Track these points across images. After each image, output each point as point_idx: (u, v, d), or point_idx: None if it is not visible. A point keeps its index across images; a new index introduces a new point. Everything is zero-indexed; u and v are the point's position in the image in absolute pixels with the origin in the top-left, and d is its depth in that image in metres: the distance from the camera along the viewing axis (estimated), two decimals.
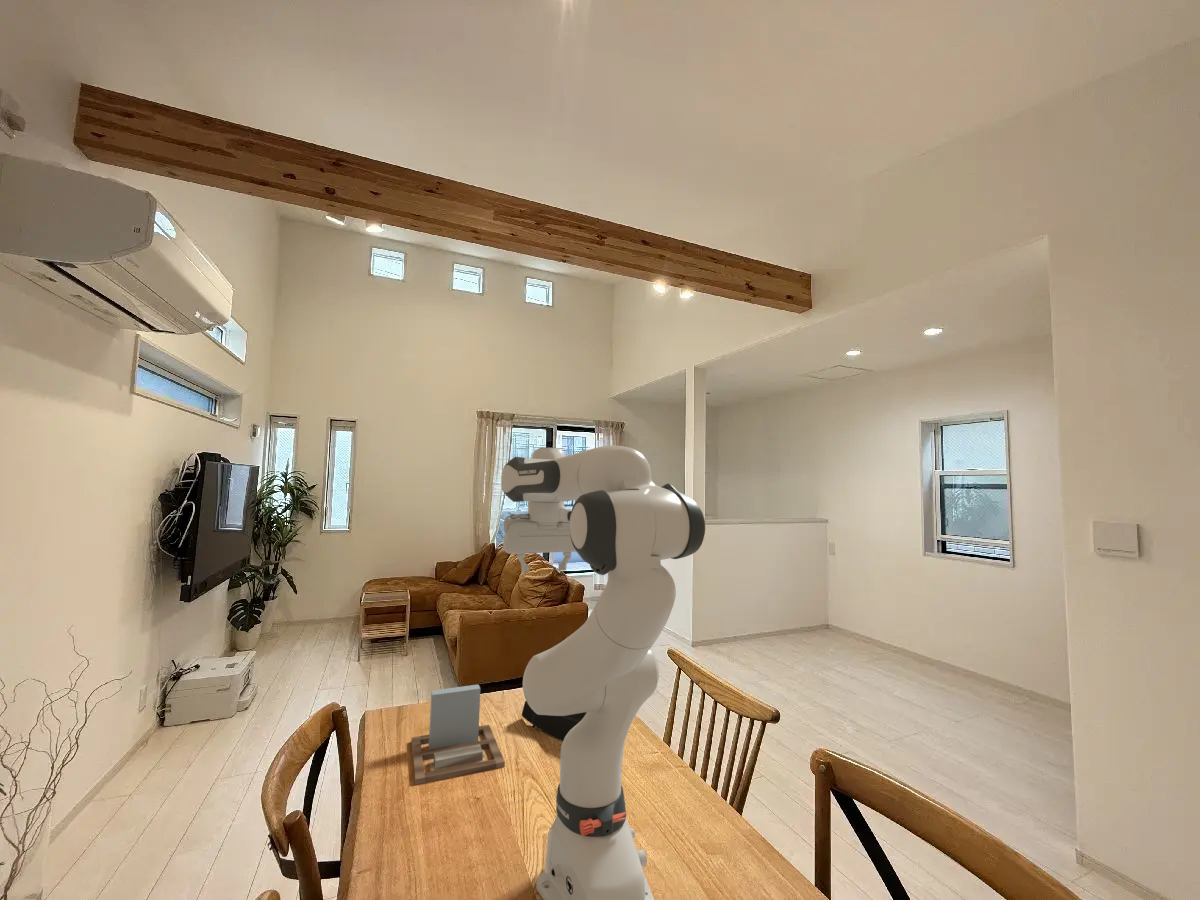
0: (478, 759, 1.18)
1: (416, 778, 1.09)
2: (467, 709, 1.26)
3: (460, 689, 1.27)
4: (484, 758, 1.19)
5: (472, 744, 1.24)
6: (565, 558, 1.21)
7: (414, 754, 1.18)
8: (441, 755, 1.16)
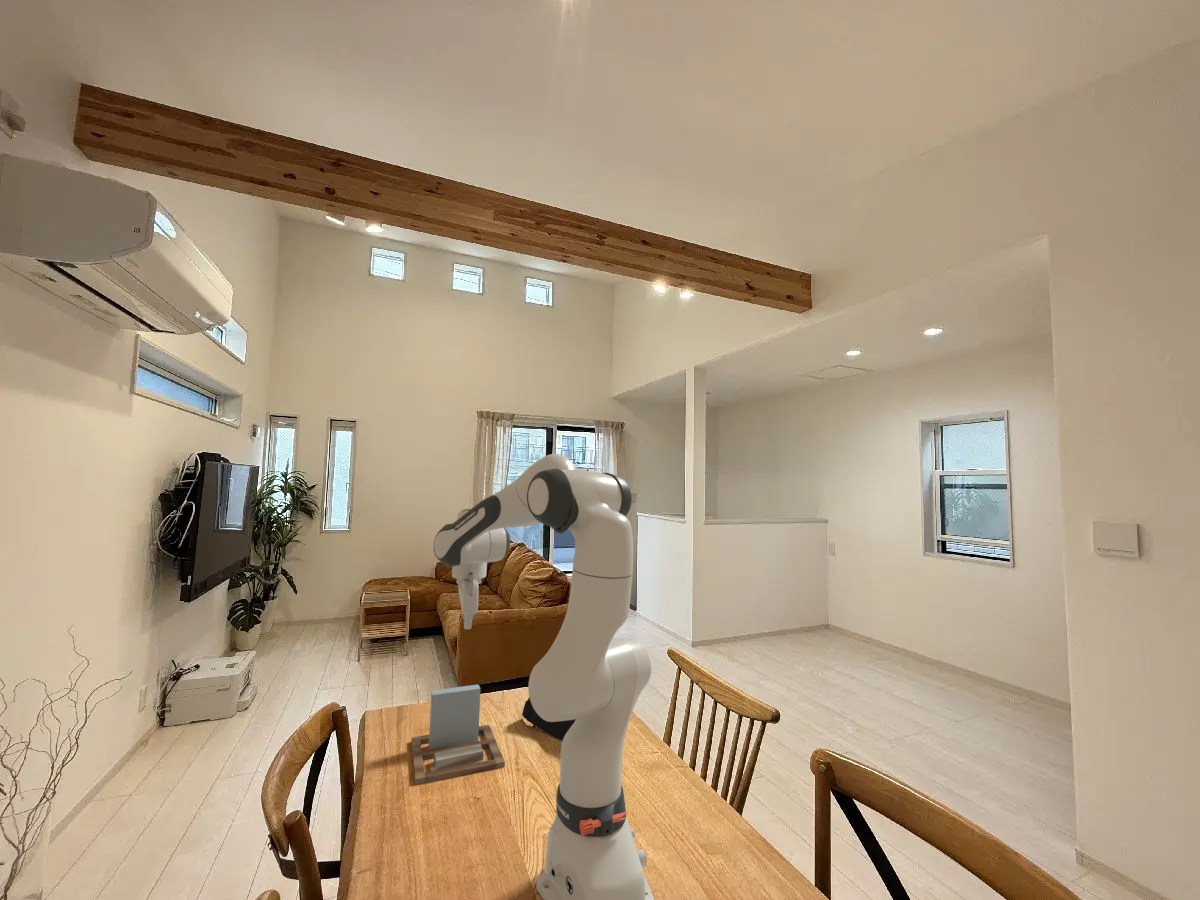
0: (479, 759, 1.18)
1: (416, 778, 1.09)
2: (467, 709, 1.26)
3: (460, 689, 1.27)
4: (484, 757, 1.19)
5: (472, 744, 1.24)
6: None
7: (414, 754, 1.18)
8: (442, 755, 1.16)
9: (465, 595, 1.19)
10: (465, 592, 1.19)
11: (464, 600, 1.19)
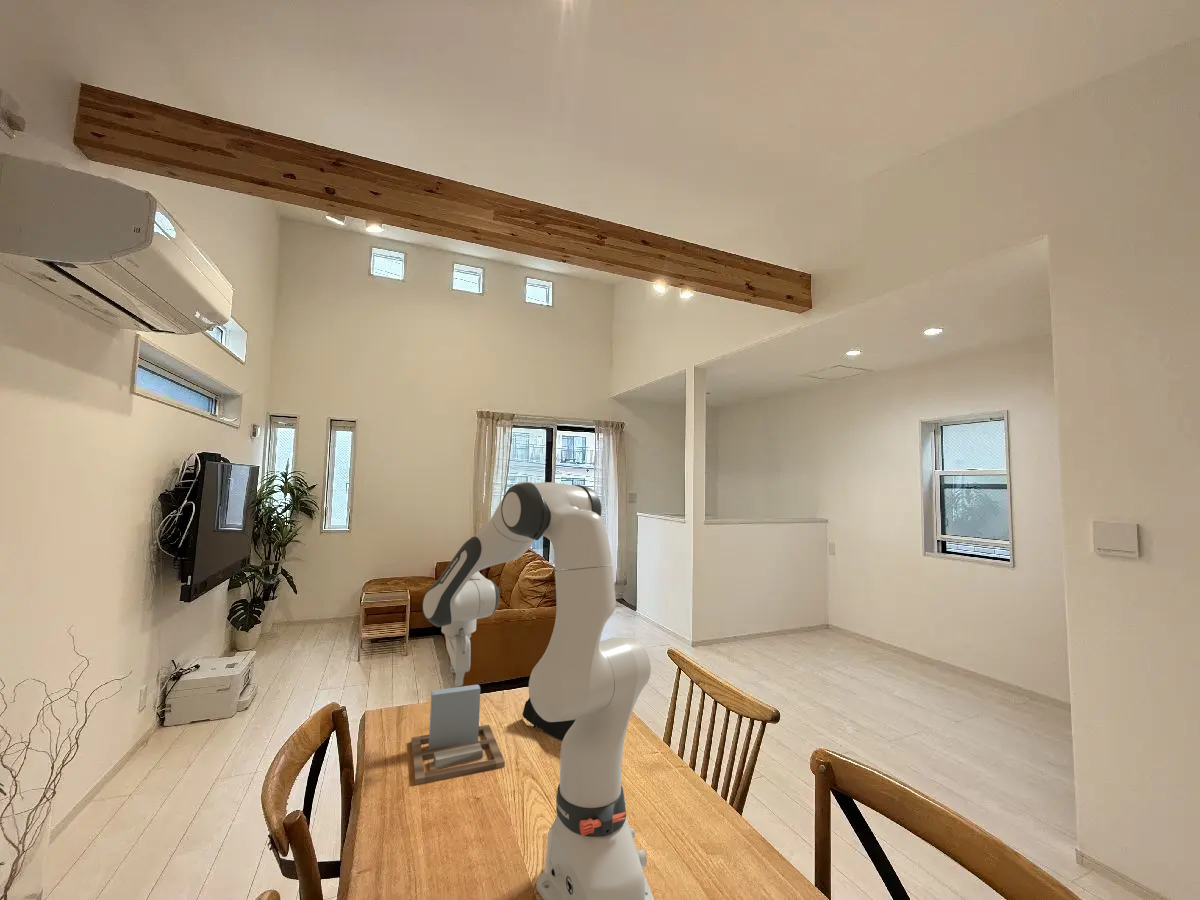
0: (478, 758, 1.19)
1: (416, 778, 1.09)
2: (467, 709, 1.26)
3: (460, 689, 1.27)
4: (484, 757, 1.20)
5: (472, 744, 1.24)
6: None
7: (414, 754, 1.18)
8: (441, 754, 1.17)
9: (457, 653, 1.19)
10: (457, 650, 1.19)
11: (456, 658, 1.18)
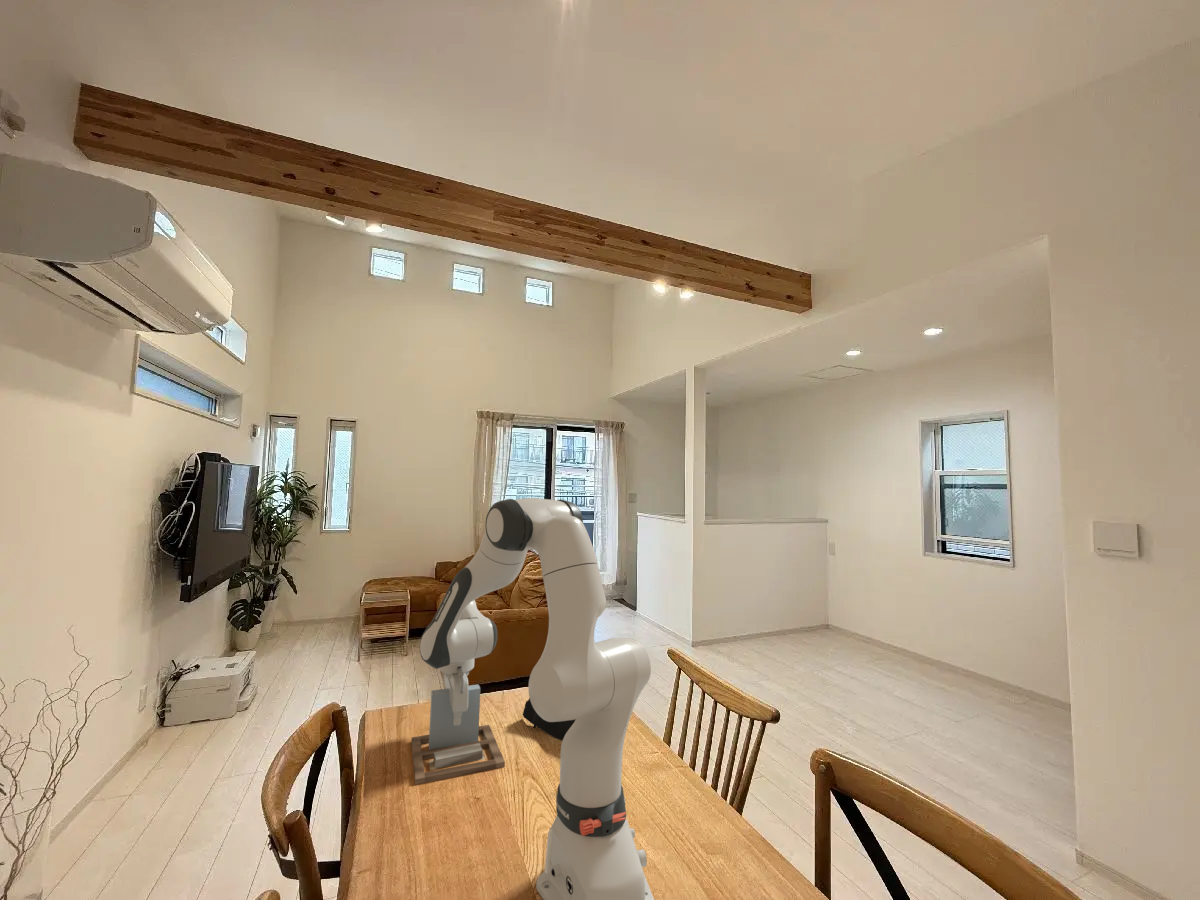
0: (478, 758, 1.19)
1: (416, 778, 1.09)
2: (467, 709, 1.26)
3: None
4: (484, 757, 1.20)
5: (472, 744, 1.24)
6: None
7: (414, 754, 1.18)
8: (441, 754, 1.17)
9: (455, 693, 1.18)
10: (455, 690, 1.18)
11: (454, 699, 1.18)
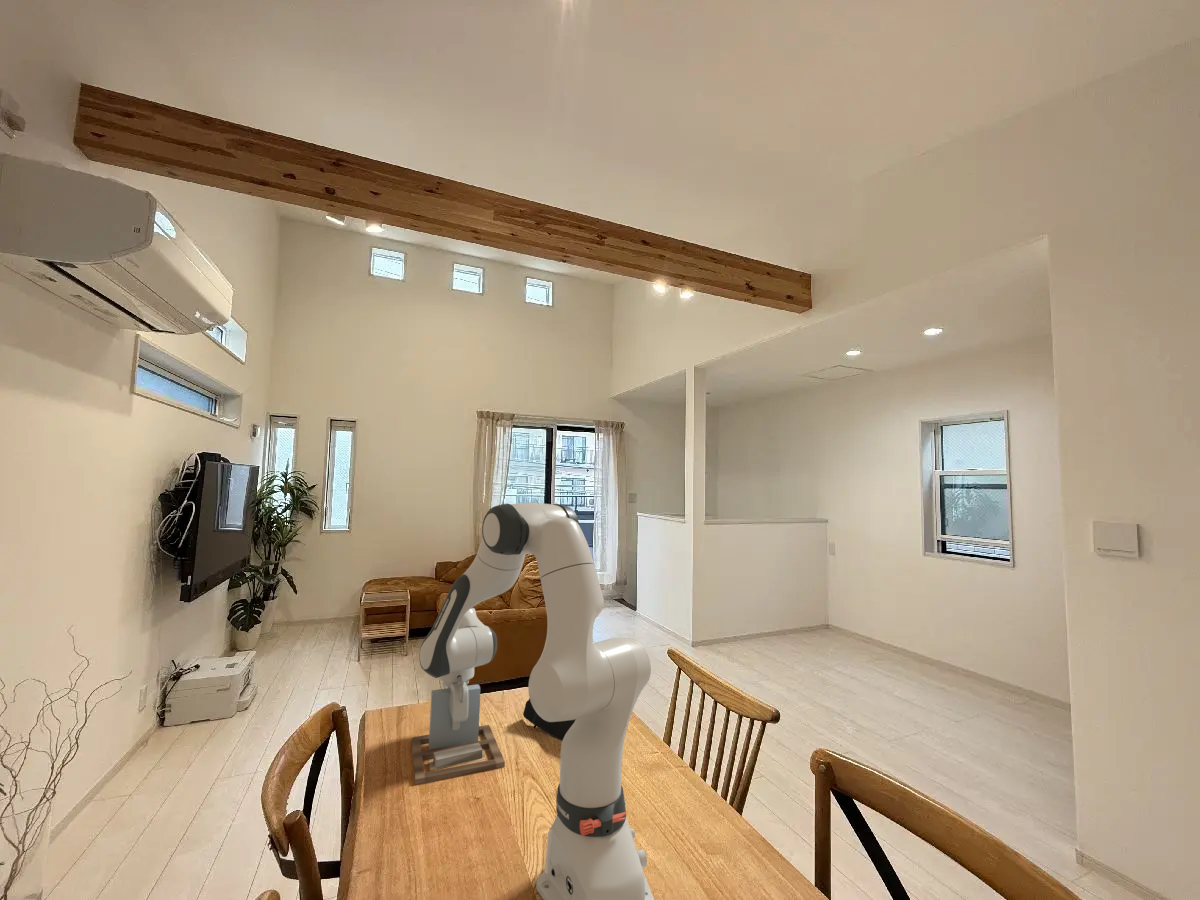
0: (478, 757, 1.19)
1: (416, 778, 1.09)
2: None
3: None
4: (483, 757, 1.20)
5: None
6: None
7: (414, 754, 1.18)
8: (441, 754, 1.17)
9: (455, 702, 1.18)
10: (455, 699, 1.18)
11: (454, 708, 1.17)
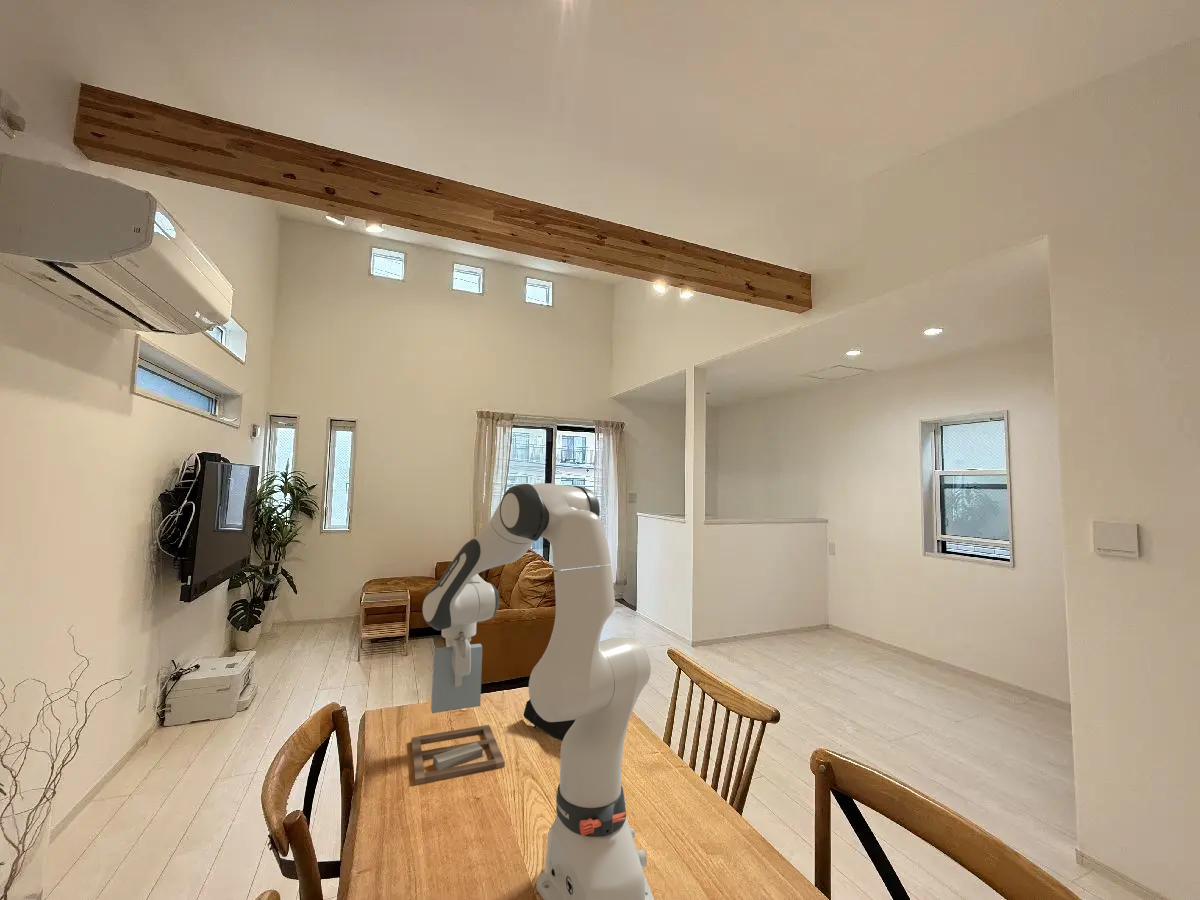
0: (478, 756, 1.20)
1: (416, 778, 1.09)
2: None
3: None
4: (484, 757, 1.20)
5: None
6: None
7: (414, 754, 1.18)
8: (442, 756, 1.16)
9: (458, 657, 1.19)
10: (457, 653, 1.19)
11: (457, 662, 1.18)
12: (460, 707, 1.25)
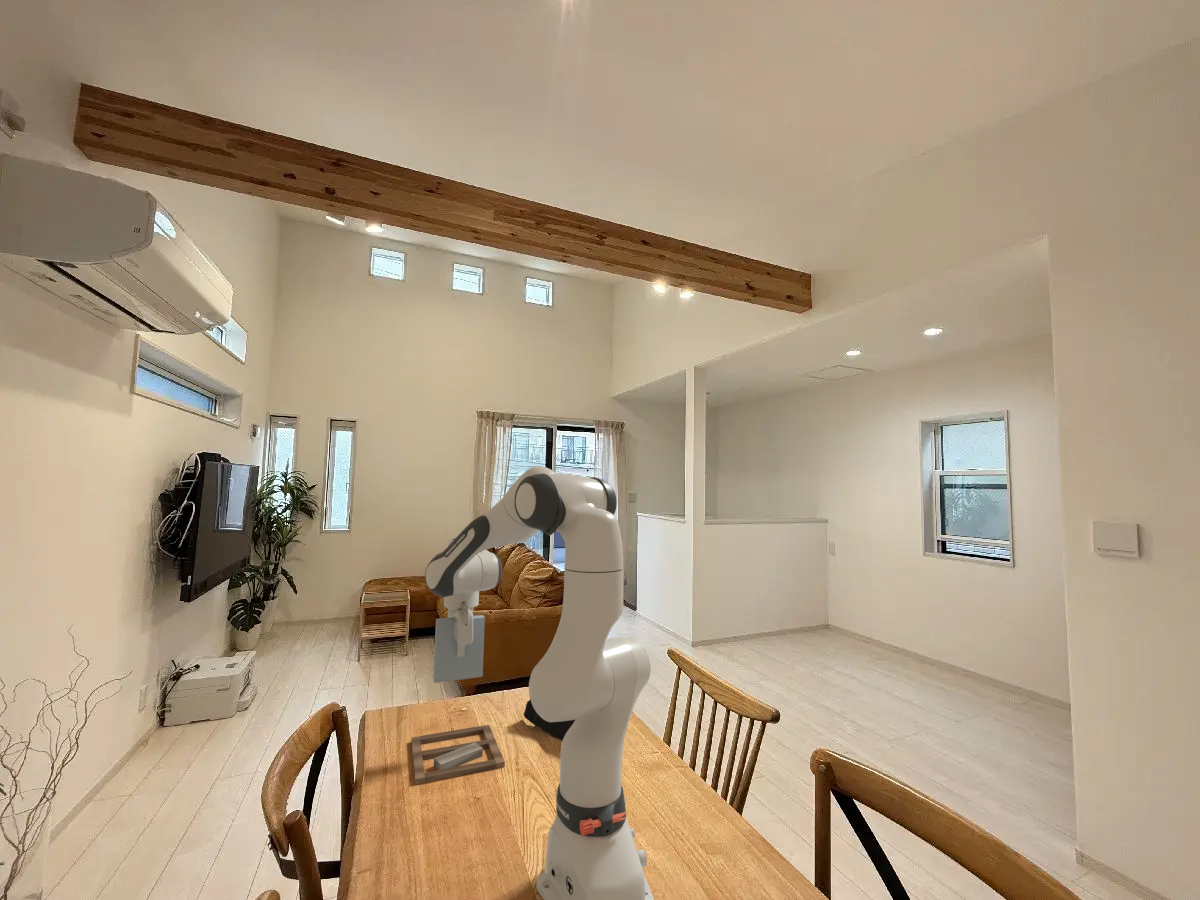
0: (479, 756, 1.20)
1: (416, 778, 1.09)
2: None
3: None
4: None
5: None
6: None
7: (414, 754, 1.18)
8: (443, 758, 1.15)
9: (460, 625, 1.18)
10: (460, 622, 1.18)
11: (459, 630, 1.18)
12: (462, 677, 1.25)
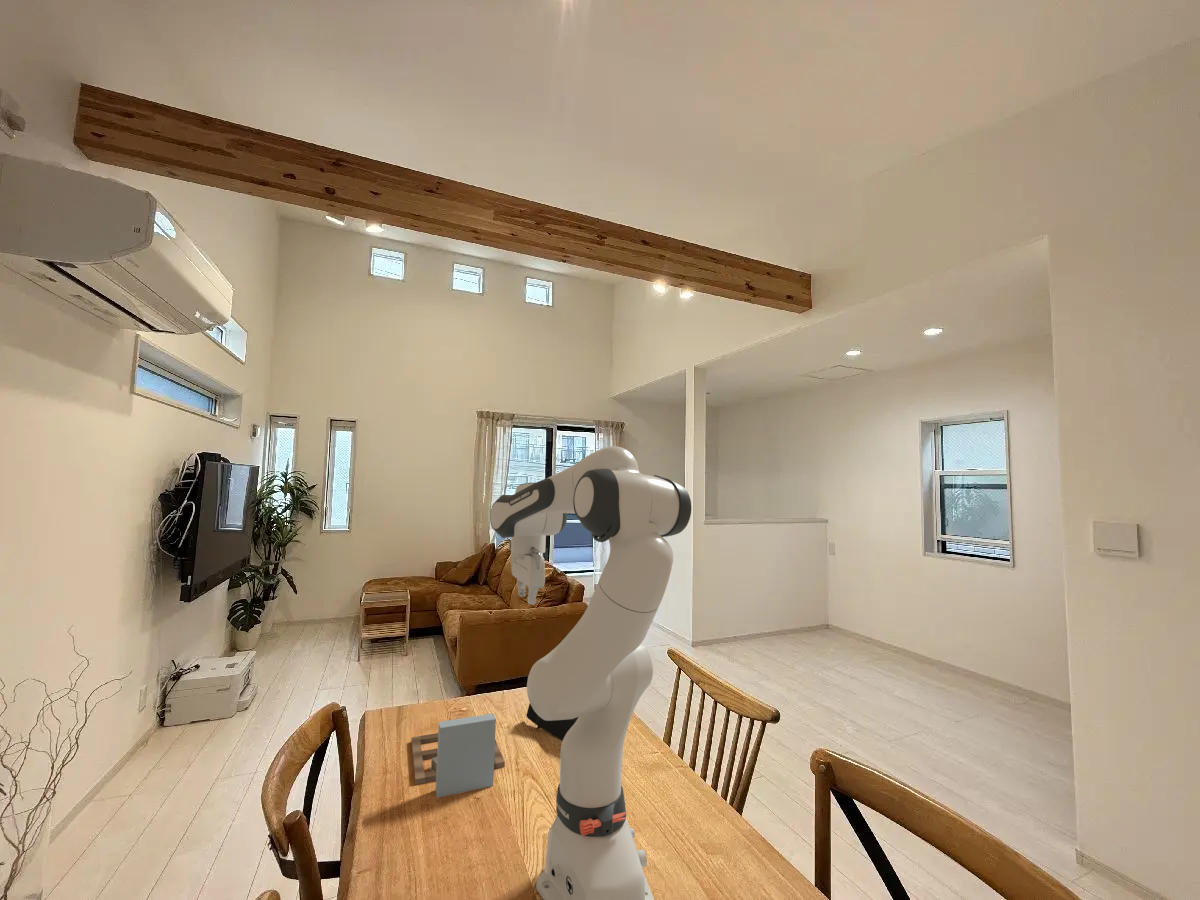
0: None
1: (416, 778, 1.09)
2: (480, 743, 1.08)
3: (472, 720, 1.09)
4: None
5: None
6: (522, 584, 1.30)
7: (414, 754, 1.18)
8: None
9: (532, 568, 1.16)
10: (532, 565, 1.17)
11: (532, 573, 1.16)
12: None
